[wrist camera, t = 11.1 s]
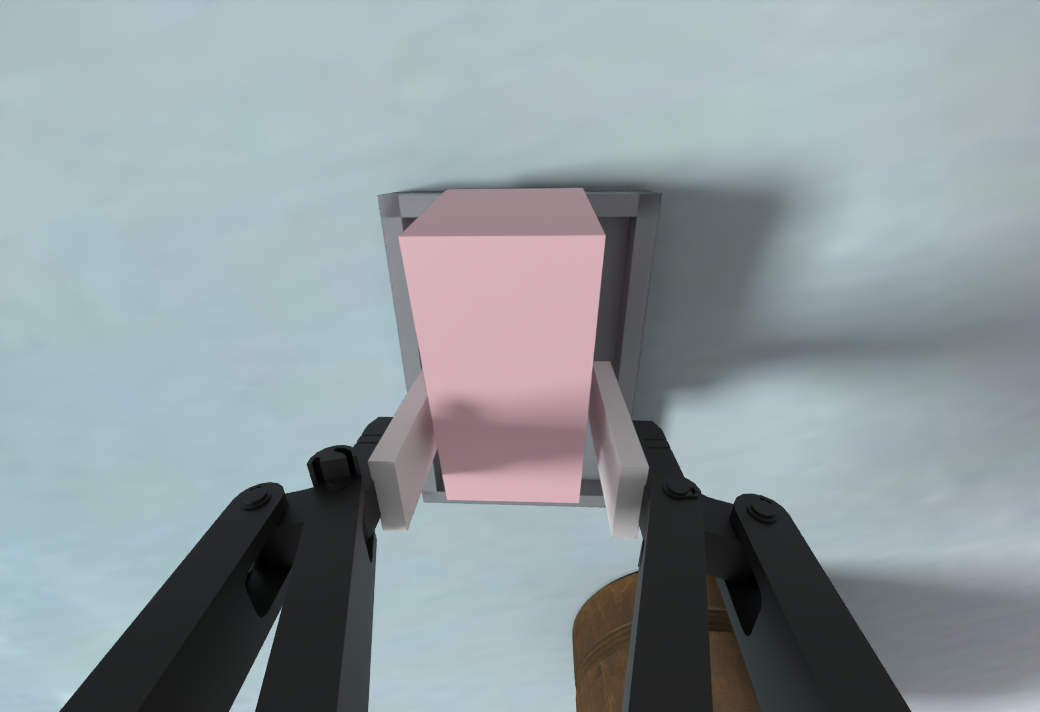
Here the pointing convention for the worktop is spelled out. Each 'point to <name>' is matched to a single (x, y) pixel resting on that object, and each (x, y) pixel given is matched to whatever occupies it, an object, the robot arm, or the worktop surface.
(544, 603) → the worktop surface
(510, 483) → the pink rectangular block
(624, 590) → the wooden container
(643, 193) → the tray
